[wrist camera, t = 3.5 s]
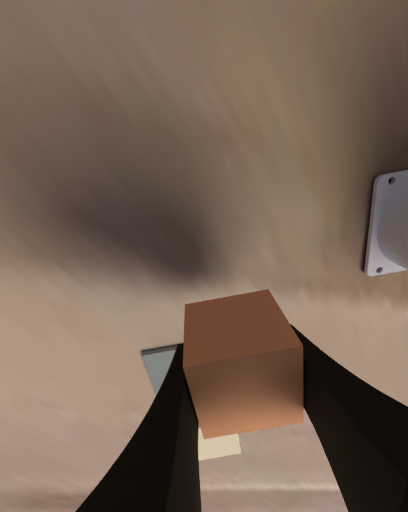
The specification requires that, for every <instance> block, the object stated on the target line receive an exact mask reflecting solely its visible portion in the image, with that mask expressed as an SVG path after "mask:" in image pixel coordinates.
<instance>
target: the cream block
mask: <svg viewBox="0 0 408 512" xmlns="http://www.w3.org/2000/svg"><path fill="white" fill-rule="evenodd" d="M239 453H241V449H240V443H239V437H238V434H232V435H226V436H220V437H215V438H209V439H204V438H203V435H202V431H201V428H200V424H199V426H198V461H199V460H205V459H211V458H217V457H222V456H228V455H234V454H239Z"/></svg>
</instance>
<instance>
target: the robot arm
mask: <svg viewBox="0 0 408 512" xmlns="http://www.w3.org/2000/svg"><path fill="white" fill-rule="evenodd" d="M390 178H391V182H390V183H388V181H389V179H390ZM378 268H379V269H378ZM377 269H378V270H377ZM404 270H408V170H403V171H398V172H393V173H387V174H382V175H379V176H378V177H377V178H376V179H375V182H374V188H373V197H372V206H371V215H370V223H369V232H368V241H367V250H366V259H365V268H364V272H365V274H367V275H368V276H377V275H382V274H388V273H393V272H399V271H404ZM290 325H291V324H290ZM291 327H292V328H293V330H294V332H295V333H296V335H297V337H298V338H299V340H300V341H301V343H302V345H303V406H304V408H305V410H306V412H307V414H308V416H309V418H310V420H311V422H312V424H313V426H314V428H315V430H316V432H317V435H318V437H319V439H320V442H321V444H322V446H323V449H324V451H325V454H326V456H327V458H328V461H329V463H330V466H331V468H332V471H333V473H334V476H335V478H336V481H337V483H338V486H339V488H340V491H341V493H342V496H343V498H344V501H345V504H346V506H347V509H348V511H349V512H408V407H407V406H405V405H404V404H402V403H400V402H398V401H396V400H395V399H393V398H391V397H389V396H387V395H386V394H384V393H382V392H380V391H379V390H377V389H376V388H374V387H372V386H371V385H369V384H368V383H366V382H364V381H363V380H361V379H360V378H358V377H357V376H355V375H354V374H352V373H351V372H350V371H348V370H347V369H345V368H344V367H343V366H341V365H340V364H338V363H337V362H336V361H334V360H333V359H332V358H330V357H329V356H328V355H327V354H325V353H324V352H323V351H322V350H320V349H319V348H318V347H317V346H315V345H314V344H313V343H312V342H311V341H310V340H308V339H307V338H306V337H305V336H304V335H303V334H302V333H300V332H299V331H298V330H297V329H296V328H295V327H294V326H292V325H291ZM183 348H184V344H178V346H177V347H176V351H175V353H174V356H173V359H172V362H171V364H170V367H169V369H168V372H167V374H166V376H165V378H164V381H163V383H162V385H161V387H160V389H159V391H158V393H157V395H156V397H155V399H154V401H153V403H152V405H151V407H150V409H149V410H148V412H147V414H146V416H145V417H144V419H143V421H142V422H141V424H140V426H139V427H138V429H137V430H136V432H135V434H134V435H133V437H132V438H131V440H130V441H129V443H128V444H127V446H126V447H125V449H124V450H123V452H122V453H121V454H120V456H119V457H118V458H117V460H116V461H115V463H114V464H113V465H112V467H111V468H110V469H109V471H108V472H107V473H106V475H105V476H104V477H103V479H102V480H101V481H100V482H99V484H98V485H97V486H96V487H95V489H94V490H93V491H92V492H91V493H90V495H89V496H88V497H87V498H86V500H85V501H84V502H83V503H82V504H81V506H80V507H79V508H78V509H77V510H76V512H201V496H200V480H199V461H198V426H199V421H198V418H197V414H196V411H195V407H194V404H193V400H192V397H191V393H190V390H189V387H188V383H187V380H186V376H185V373H184V369H183Z"/></svg>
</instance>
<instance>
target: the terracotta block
mask: <svg viewBox="0 0 408 512" xmlns="http://www.w3.org/2000/svg"><path fill="white" fill-rule="evenodd" d="M183 369H184V373H185V376H186V380H187V383H188V387H189V390H190V393H191V397H192V400H193V404H194V407H195V411H196V414H197V418H198V421H199V424H200V428H201V431H202V435H203V438H204V439H209V438H215V437H220V436H226V435H232V434H238V433H244V432H250V431H255V430H261V429H267V428H273V427H279V426H284V425H290V424H296V423H302V422H304V416H303V345H302V343H301V341H300V340H299V338H298V337H297V335H296V333H295V332H294V330H293V328H292V327H291V325H290V324H289V322H288V320H287V319H286V317H285V315H284V314H283V312H282V311H281V309H280V307H279V306H278V304H277V303H276V301H275V299H274V298H273V296H272V294H271V293H270V291H269V290H262V291H257V292H251V293H246V294H240V295H235V296H229V297H224V298H218V299H213V300H207V301H202V302H196V303H191V304H185V320H184V348H183Z"/></svg>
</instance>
